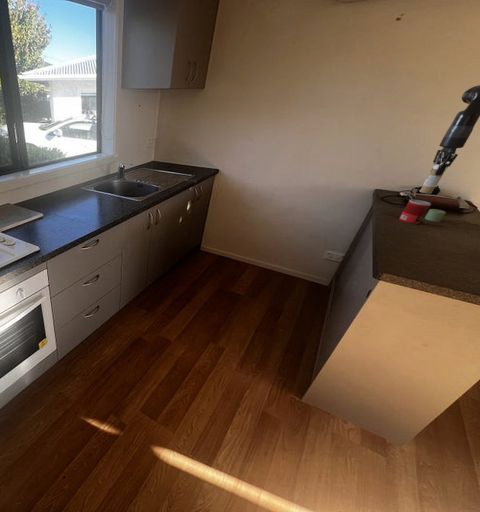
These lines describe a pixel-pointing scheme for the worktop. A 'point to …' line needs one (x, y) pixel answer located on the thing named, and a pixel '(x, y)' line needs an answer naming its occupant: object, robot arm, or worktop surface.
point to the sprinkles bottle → (431, 180)
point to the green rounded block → (435, 215)
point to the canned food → (414, 211)
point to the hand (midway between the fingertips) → (435, 173)
